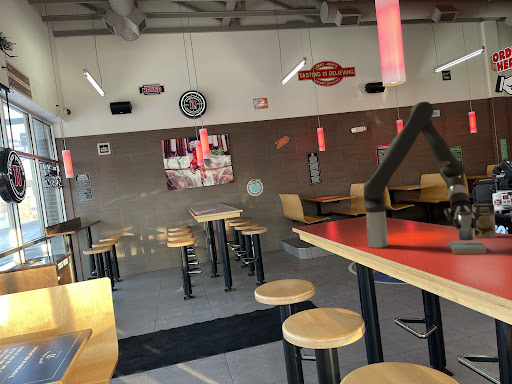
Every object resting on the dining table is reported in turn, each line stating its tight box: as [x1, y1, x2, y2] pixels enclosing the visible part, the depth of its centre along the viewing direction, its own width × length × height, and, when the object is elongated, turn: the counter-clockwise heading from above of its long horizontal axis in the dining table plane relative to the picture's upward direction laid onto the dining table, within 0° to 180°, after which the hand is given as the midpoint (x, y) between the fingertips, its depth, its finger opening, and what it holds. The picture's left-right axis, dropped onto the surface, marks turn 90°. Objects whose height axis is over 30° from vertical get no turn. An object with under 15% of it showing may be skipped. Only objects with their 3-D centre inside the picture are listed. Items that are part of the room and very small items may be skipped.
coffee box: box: [471, 203, 497, 239], centre depth 186 cm, size 9×6×16 cm
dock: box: [448, 240, 487, 255], centre depth 160 cm, size 12×12×3 cm
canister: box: [457, 210, 474, 241], centre depth 160 cm, size 6×6×12 cm
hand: (466, 227), depth 158 cm, fingers closed on canister, 5 cm apart
